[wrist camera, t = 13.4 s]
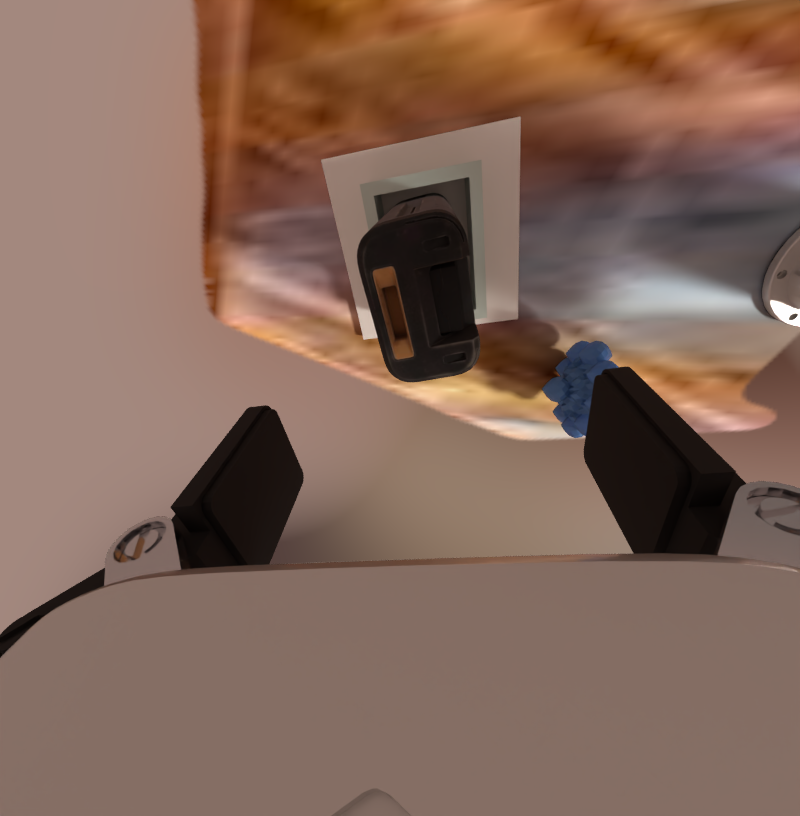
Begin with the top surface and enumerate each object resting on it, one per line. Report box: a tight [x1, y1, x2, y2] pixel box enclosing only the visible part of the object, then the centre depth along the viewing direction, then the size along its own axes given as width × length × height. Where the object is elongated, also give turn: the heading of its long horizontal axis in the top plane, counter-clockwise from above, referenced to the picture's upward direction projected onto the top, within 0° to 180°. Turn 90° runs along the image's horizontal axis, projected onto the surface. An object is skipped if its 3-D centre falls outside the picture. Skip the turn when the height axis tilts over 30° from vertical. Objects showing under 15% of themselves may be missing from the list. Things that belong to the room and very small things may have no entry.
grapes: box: [542, 341, 619, 438], centre depth 39 cm, size 12×7×12 cm, turn 1°
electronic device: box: [357, 193, 480, 382], centre depth 28 cm, size 9×6×20 cm, turn 13°
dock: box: [321, 116, 521, 339], centre depth 35 cm, size 18×18×6 cm
